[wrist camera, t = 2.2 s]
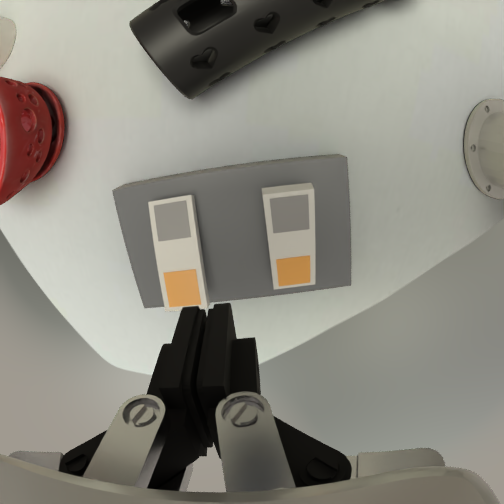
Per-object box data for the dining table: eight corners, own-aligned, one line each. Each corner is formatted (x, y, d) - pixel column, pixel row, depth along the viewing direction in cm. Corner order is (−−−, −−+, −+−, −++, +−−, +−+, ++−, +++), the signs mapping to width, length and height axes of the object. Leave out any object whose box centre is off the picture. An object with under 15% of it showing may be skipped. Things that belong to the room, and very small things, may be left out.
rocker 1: (194, 195, 28) (191, 194, 26) (209, 304, 29) (207, 308, 28) (152, 202, 28) (147, 202, 27) (169, 307, 29) (165, 311, 28)
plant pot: (-13, 129, 27) (-79, 142, 16) (49, 58, 25) (-21, 45, 13) (26, 209, 31) (-38, 244, 20) (95, 145, 29) (26, 160, 18)
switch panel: (338, 154, 29) (350, 158, 26) (343, 272, 34) (353, 290, 30) (123, 184, 30) (107, 192, 27) (151, 294, 35) (141, 313, 32)
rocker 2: (311, 182, 25) (314, 189, 24) (313, 276, 31) (315, 284, 30) (261, 188, 25) (262, 195, 24) (272, 281, 31) (273, 290, 30)
